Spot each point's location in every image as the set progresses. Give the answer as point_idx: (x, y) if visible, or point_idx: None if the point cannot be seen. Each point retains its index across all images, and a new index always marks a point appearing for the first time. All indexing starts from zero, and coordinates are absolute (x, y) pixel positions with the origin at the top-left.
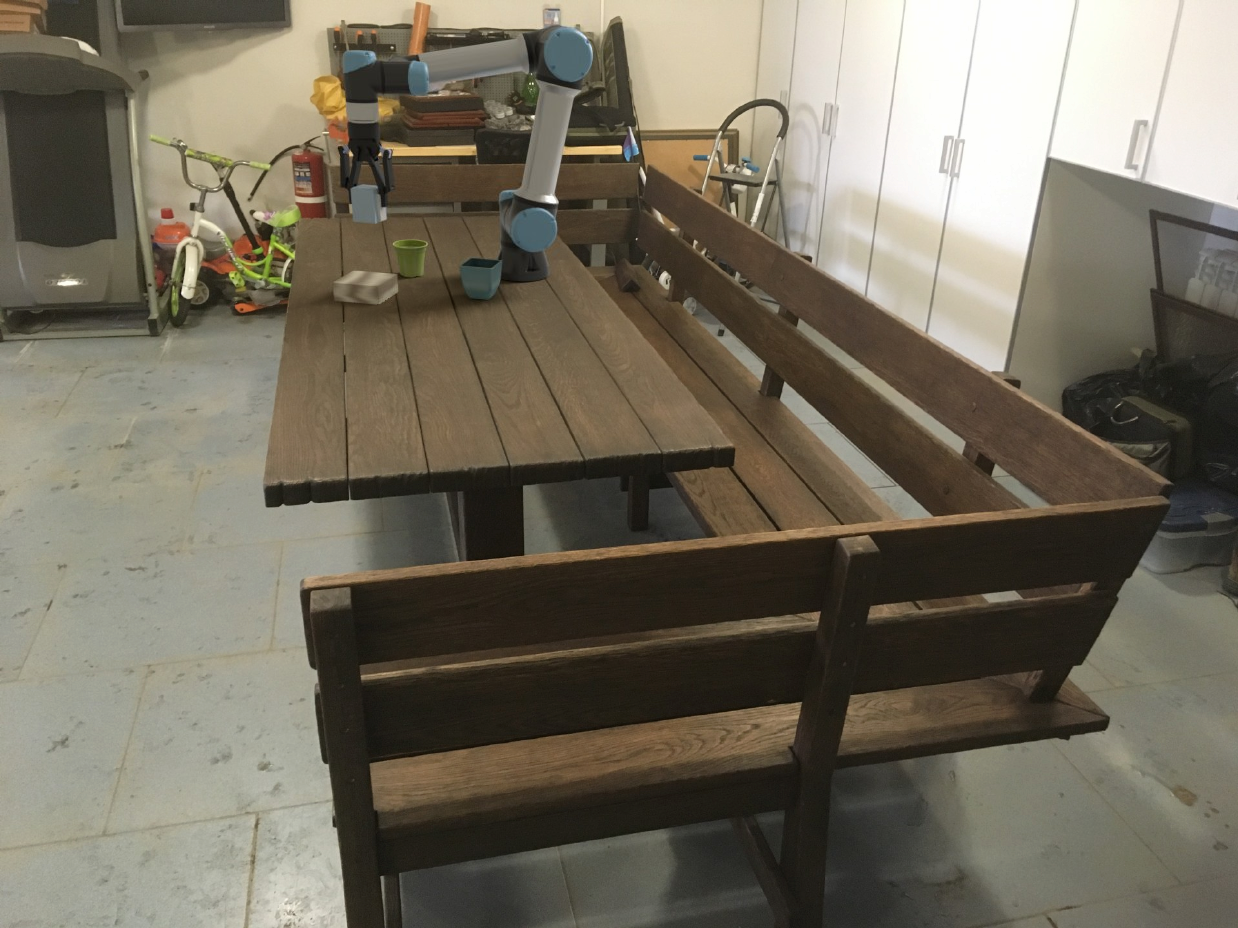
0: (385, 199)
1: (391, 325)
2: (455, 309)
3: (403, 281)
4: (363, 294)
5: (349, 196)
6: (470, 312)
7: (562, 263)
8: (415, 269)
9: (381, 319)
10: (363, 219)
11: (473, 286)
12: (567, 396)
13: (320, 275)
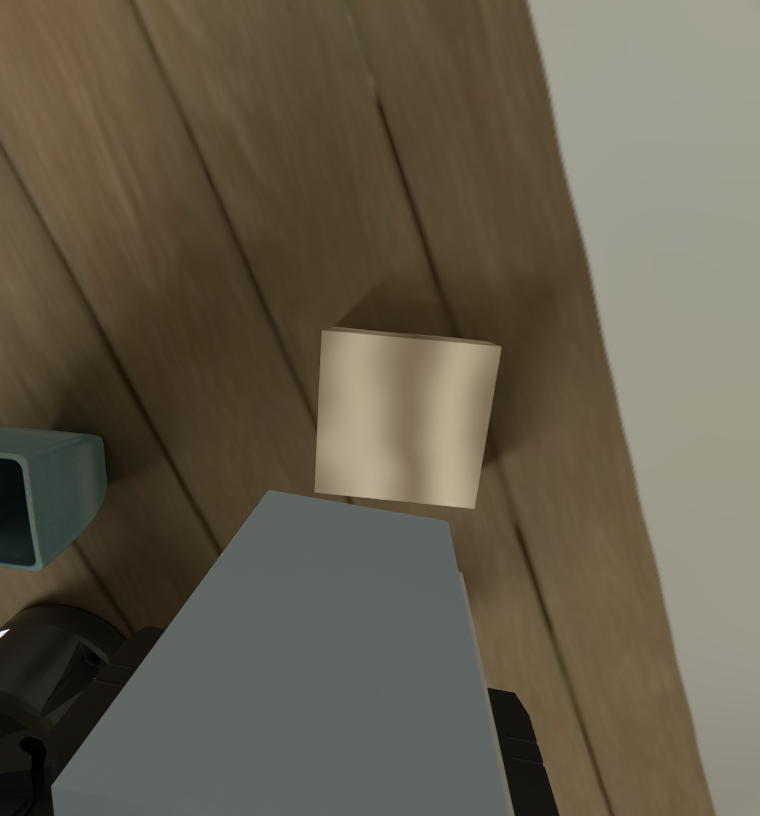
0: (74, 708)
1: (210, 100)
2: (96, 324)
3: None
4: (383, 333)
5: (542, 783)
6: (41, 303)
7: None
8: None
9: (268, 164)
10: (359, 518)
11: (45, 433)
12: None
13: (604, 584)
